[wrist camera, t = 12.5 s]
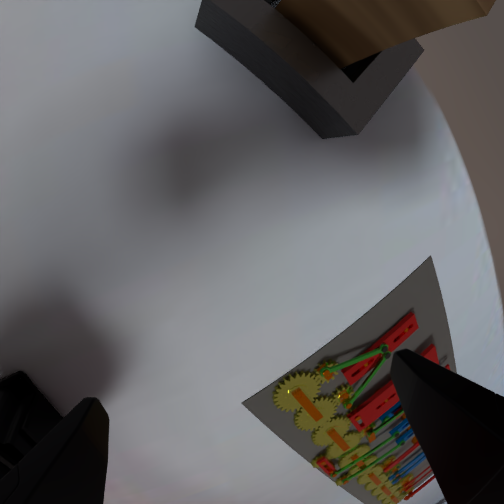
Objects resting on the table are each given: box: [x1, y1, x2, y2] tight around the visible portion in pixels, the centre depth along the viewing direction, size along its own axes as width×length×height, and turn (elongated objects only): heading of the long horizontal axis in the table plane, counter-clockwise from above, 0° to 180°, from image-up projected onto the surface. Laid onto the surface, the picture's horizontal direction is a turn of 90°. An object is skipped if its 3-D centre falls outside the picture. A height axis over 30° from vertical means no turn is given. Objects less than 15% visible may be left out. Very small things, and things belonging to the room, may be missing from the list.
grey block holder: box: [195, 0, 424, 139], centre depth 15 cm, size 9×11×4 cm
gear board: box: [242, 256, 457, 504], centre depth 30 cm, size 45×2×19 cm
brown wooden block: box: [275, 0, 496, 69], centre depth 11 cm, size 3×5×13 cm, turn 49°
